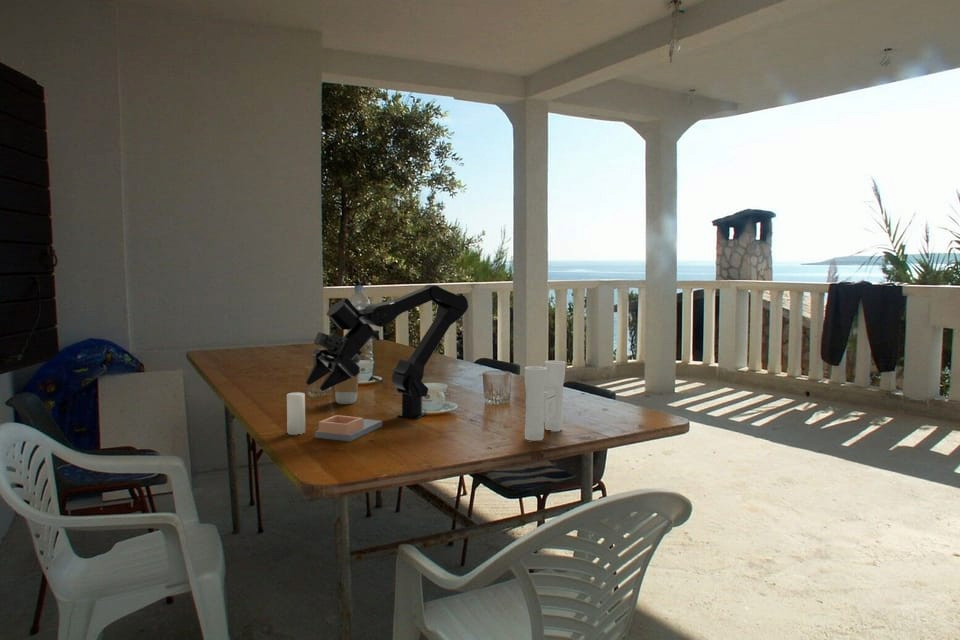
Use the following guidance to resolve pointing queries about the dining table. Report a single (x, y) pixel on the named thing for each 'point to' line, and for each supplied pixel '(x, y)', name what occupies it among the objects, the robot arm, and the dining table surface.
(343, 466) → the dining table surface
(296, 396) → the candle
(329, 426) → the candle stand
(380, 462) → the dining table surface
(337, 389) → the coffee cup
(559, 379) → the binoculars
